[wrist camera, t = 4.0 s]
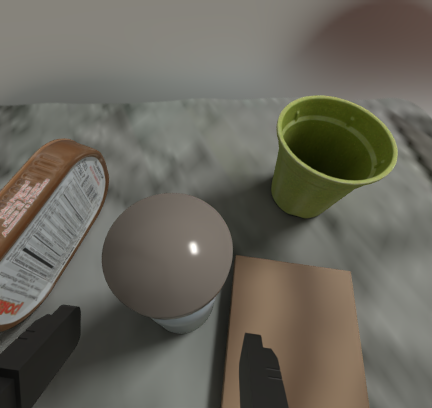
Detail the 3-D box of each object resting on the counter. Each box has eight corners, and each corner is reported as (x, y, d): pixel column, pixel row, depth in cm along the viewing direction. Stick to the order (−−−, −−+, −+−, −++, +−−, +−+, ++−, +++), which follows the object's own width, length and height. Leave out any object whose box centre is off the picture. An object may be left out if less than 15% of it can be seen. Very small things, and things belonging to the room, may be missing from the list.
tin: (95, 177, 27) (58, 113, 20) (123, 186, 27) (96, 123, 20) (-7, 329, 20) (-126, 314, 12) (29, 343, 19) (-71, 336, 12)
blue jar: (140, 330, 20) (80, 305, 10) (157, 261, 23) (125, 185, 13) (211, 341, 20) (225, 326, 10) (219, 270, 23) (238, 201, 13)
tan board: (218, 430, 18) (219, 434, 16) (234, 259, 24) (236, 255, 23) (365, 452, 17) (376, 458, 16) (343, 275, 23) (350, 271, 22)
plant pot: (302, 148, 31) (336, 83, 24) (361, 207, 27) (423, 152, 20) (238, 179, 28) (253, 116, 21) (294, 250, 24) (337, 204, 17)
